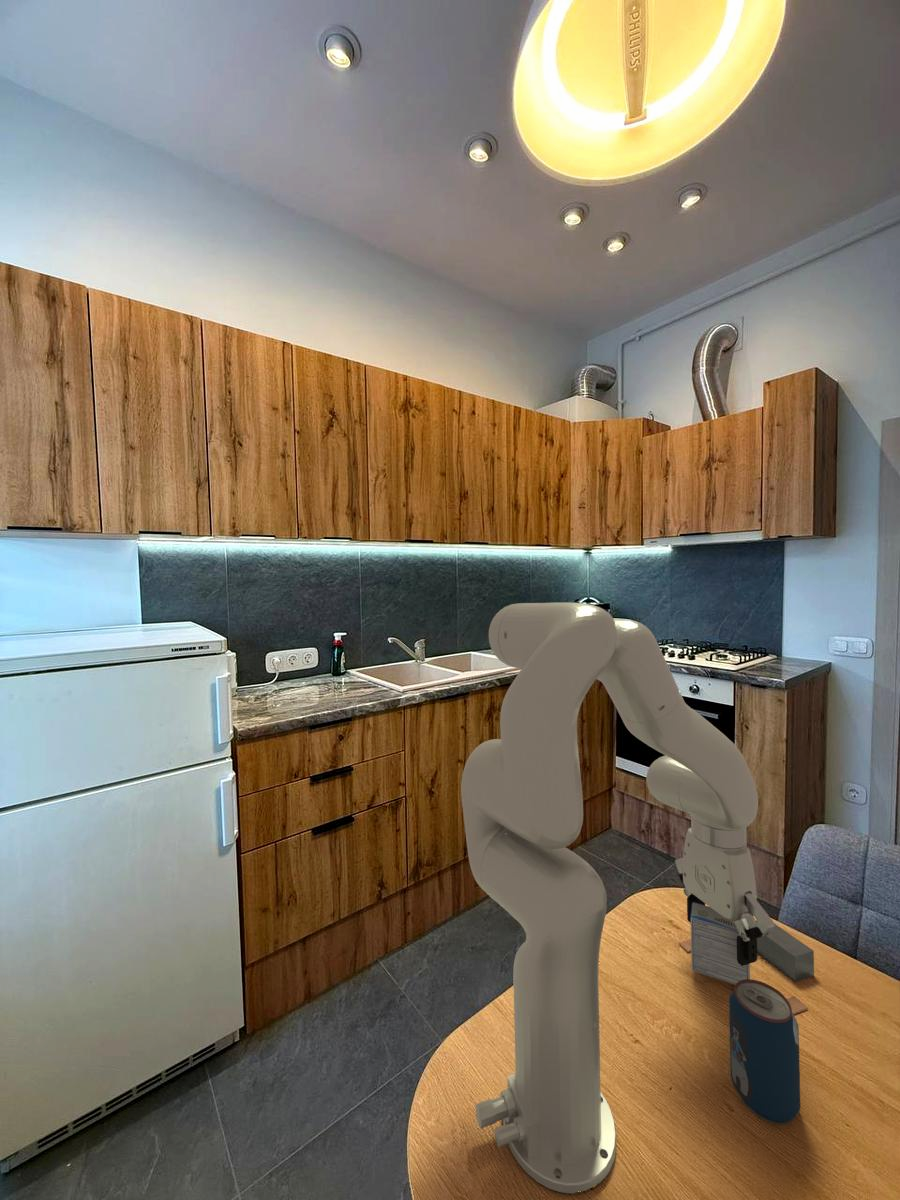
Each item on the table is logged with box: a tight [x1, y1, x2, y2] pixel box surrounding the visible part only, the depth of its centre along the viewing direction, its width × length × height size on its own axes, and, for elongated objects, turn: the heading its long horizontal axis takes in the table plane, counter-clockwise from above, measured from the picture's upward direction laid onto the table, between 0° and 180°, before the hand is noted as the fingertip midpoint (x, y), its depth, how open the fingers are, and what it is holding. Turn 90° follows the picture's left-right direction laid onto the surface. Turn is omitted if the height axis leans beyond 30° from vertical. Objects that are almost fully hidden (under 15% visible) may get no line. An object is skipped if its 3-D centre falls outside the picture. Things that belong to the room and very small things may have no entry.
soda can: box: [728, 978, 801, 1125], centre depth 55 cm, size 7×7×12 cm
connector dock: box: [678, 919, 815, 1016], centre depth 75 cm, size 15×16×4 cm
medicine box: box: [690, 903, 751, 986], centre depth 73 cm, size 8×4×9 cm, turn 60°
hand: (720, 939), depth 73 cm, fingers closed on medicine box, 8 cm apart
